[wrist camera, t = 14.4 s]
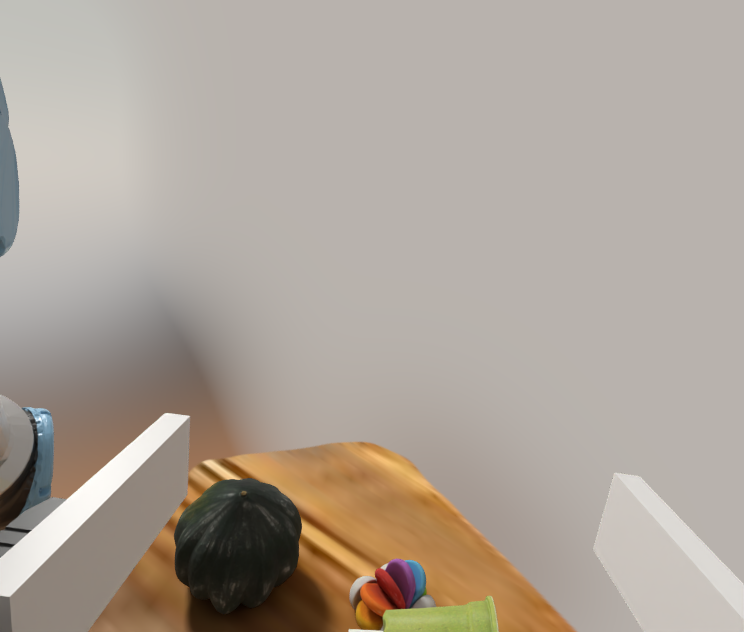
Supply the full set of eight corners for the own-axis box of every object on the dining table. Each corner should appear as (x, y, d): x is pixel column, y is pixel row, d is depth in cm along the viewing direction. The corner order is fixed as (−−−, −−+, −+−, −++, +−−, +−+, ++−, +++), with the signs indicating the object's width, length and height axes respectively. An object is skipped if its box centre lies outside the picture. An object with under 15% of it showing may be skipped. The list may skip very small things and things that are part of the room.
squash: (243, 480, 65) (199, 441, 54) (332, 520, 60) (304, 486, 49) (184, 583, 58) (118, 563, 46) (280, 638, 53) (233, 632, 41)
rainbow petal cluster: (336, 608, 53) (343, 557, 51) (397, 575, 59) (404, 528, 57) (381, 669, 46) (390, 612, 45) (443, 625, 52) (454, 573, 51)
